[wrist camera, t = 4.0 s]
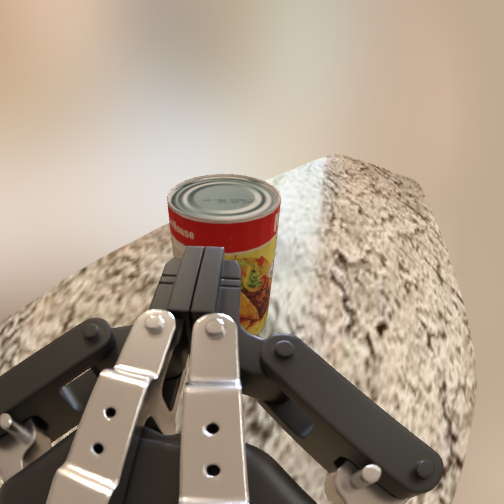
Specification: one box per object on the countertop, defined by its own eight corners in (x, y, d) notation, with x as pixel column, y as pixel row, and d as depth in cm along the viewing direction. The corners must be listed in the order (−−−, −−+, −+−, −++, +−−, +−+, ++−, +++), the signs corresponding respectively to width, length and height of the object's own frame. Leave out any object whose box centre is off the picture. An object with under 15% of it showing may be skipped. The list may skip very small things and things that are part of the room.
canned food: (284, 317, 26) (304, 197, 20) (218, 363, 22) (211, 234, 15) (230, 275, 31) (231, 167, 24) (167, 308, 26) (148, 190, 20)
